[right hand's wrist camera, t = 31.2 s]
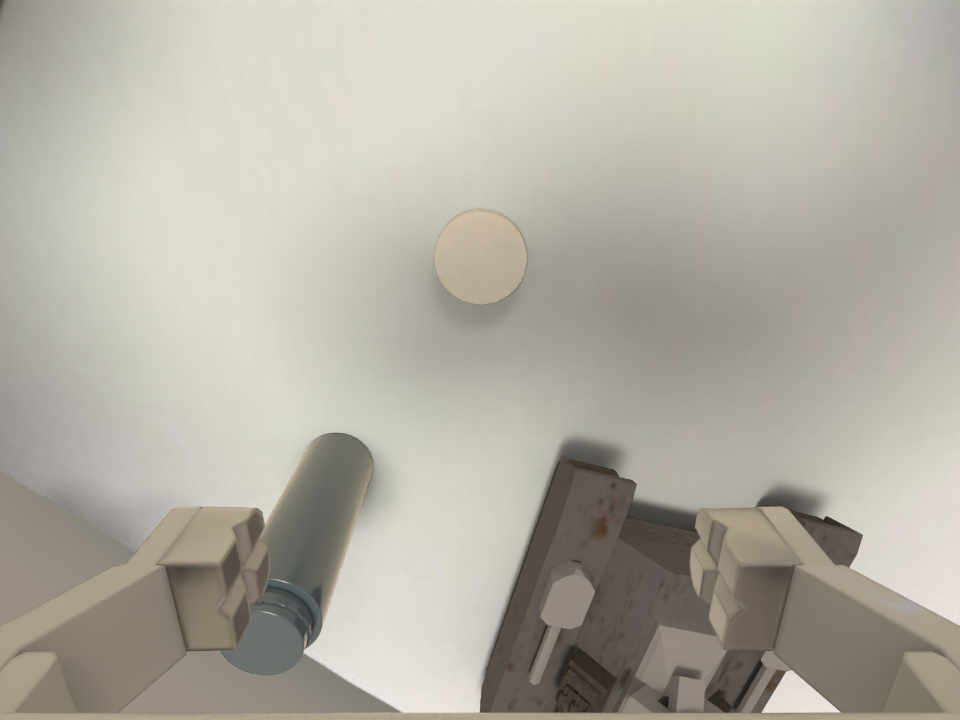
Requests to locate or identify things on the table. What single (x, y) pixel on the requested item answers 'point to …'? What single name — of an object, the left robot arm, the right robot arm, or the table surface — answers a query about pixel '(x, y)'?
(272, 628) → the jar
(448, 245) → the lid
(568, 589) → the toy
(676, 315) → the table surface
